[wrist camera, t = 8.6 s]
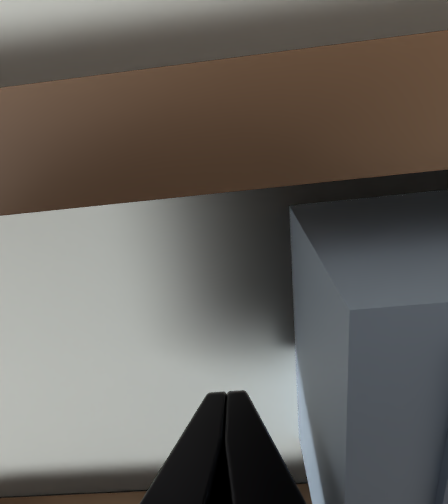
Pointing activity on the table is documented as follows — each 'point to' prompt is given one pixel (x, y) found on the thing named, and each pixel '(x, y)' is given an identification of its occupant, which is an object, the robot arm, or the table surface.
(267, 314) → the table surface
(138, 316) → the table surface
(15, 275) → the table surface
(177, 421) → the table surface
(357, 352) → the crate
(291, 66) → the rack bay
